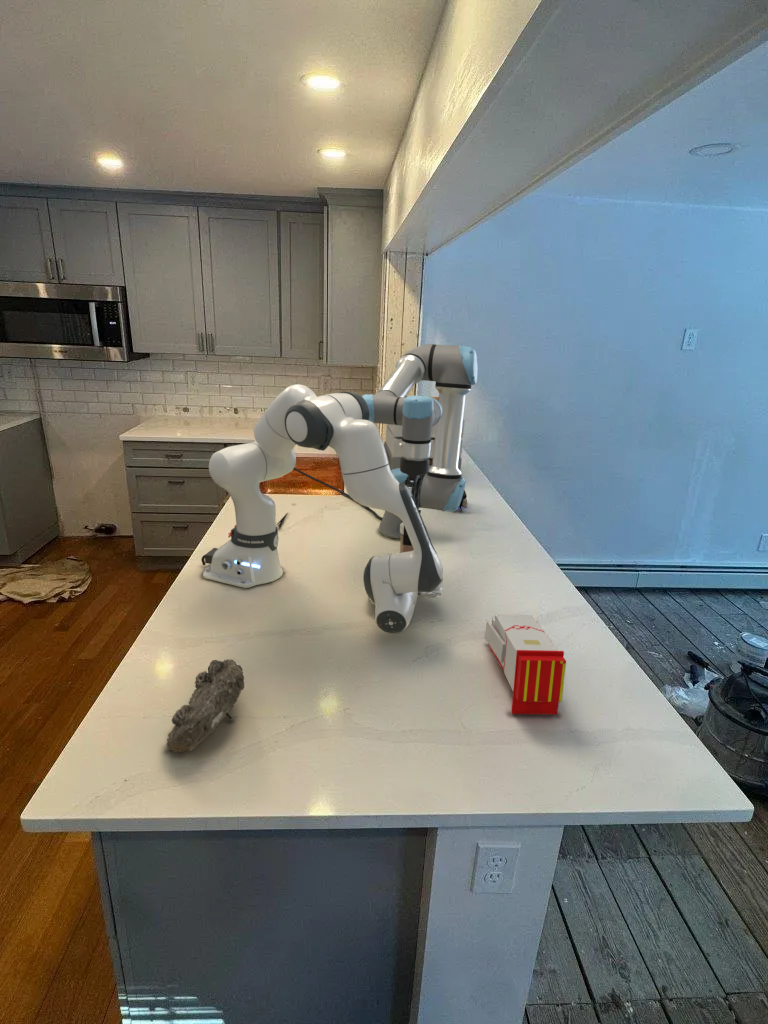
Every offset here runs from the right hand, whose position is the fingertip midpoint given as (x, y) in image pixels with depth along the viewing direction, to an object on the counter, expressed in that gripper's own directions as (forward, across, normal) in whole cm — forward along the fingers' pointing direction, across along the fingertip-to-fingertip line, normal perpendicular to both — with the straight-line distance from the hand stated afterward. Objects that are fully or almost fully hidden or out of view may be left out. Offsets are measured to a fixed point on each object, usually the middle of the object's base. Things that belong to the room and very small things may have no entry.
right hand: (409, 540), depth 154 cm
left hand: (+9, -1, 0) cm, 9 cm away
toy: (+16, +31, +30) cm, 46 cm away
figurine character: (+16, -77, +8) cm, 79 cm away
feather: (+16, -47, -53) cm, 72 cm away
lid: (-4, 0, 0) cm, 4 cm away
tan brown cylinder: (+16, 0, 0) cm, 16 cm away
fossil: (+16, +60, -28) cm, 68 cm away
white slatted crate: (+16, -123, -13) cm, 124 cm away
